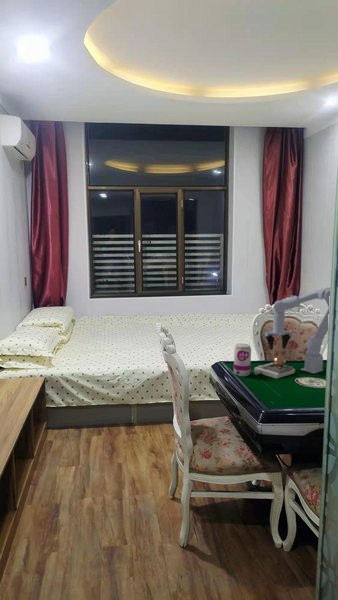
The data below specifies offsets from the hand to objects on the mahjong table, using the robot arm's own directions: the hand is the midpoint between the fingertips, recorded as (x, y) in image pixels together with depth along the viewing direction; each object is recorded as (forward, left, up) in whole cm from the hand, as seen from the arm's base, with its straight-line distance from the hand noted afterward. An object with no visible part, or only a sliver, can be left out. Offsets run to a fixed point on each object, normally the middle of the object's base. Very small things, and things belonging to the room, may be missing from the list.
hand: (277, 348), depth 224 cm
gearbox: (+9, +4, -10) cm, 14 cm away
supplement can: (+23, -4, -11) cm, 26 cm away
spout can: (+7, +6, -8) cm, 13 cm away
